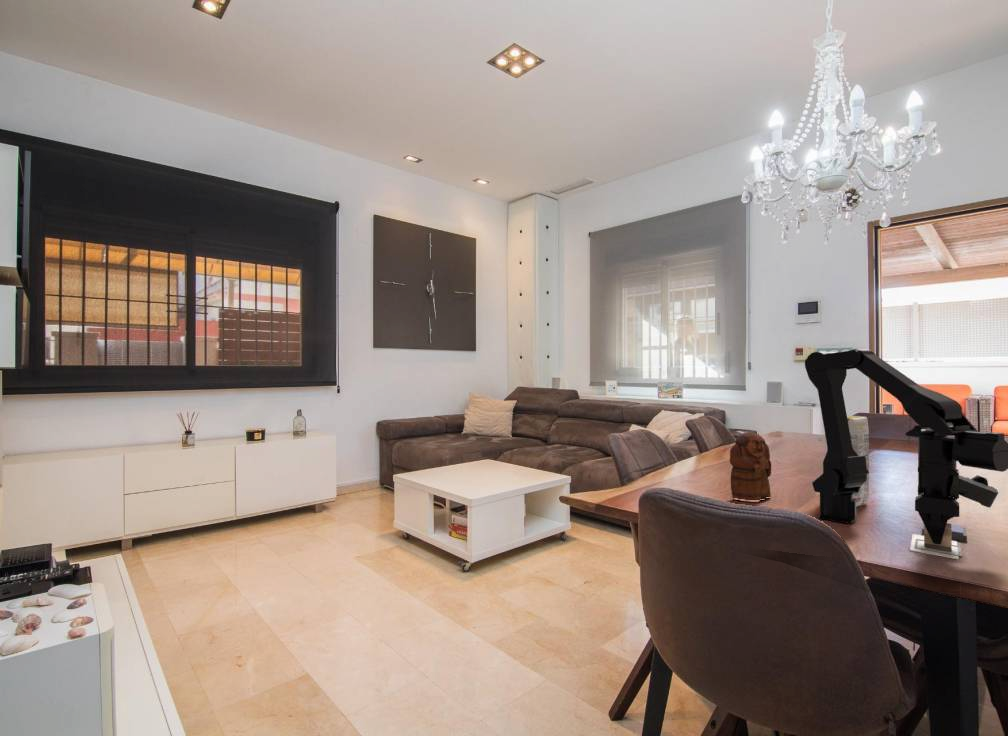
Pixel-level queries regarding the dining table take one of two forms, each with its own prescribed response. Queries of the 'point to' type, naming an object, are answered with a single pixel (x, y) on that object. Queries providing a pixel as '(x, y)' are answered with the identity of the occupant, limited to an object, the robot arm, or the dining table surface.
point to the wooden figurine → (750, 467)
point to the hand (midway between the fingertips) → (937, 540)
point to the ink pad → (955, 532)
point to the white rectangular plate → (918, 546)
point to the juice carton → (859, 451)
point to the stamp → (946, 539)
